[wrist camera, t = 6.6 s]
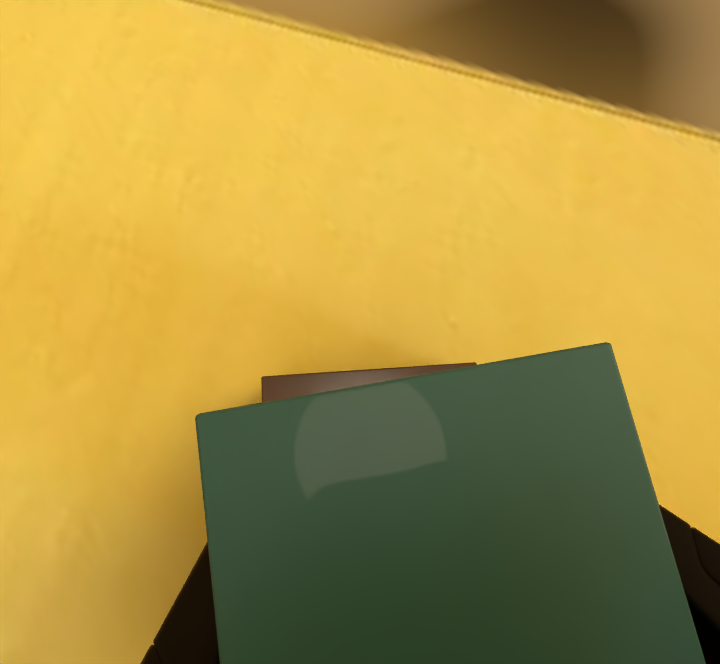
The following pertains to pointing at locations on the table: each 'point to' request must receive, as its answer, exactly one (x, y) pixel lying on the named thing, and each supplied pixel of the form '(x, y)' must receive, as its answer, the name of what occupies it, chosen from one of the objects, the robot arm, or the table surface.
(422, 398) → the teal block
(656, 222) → the table surface
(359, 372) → the walnut block
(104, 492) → the table surface
